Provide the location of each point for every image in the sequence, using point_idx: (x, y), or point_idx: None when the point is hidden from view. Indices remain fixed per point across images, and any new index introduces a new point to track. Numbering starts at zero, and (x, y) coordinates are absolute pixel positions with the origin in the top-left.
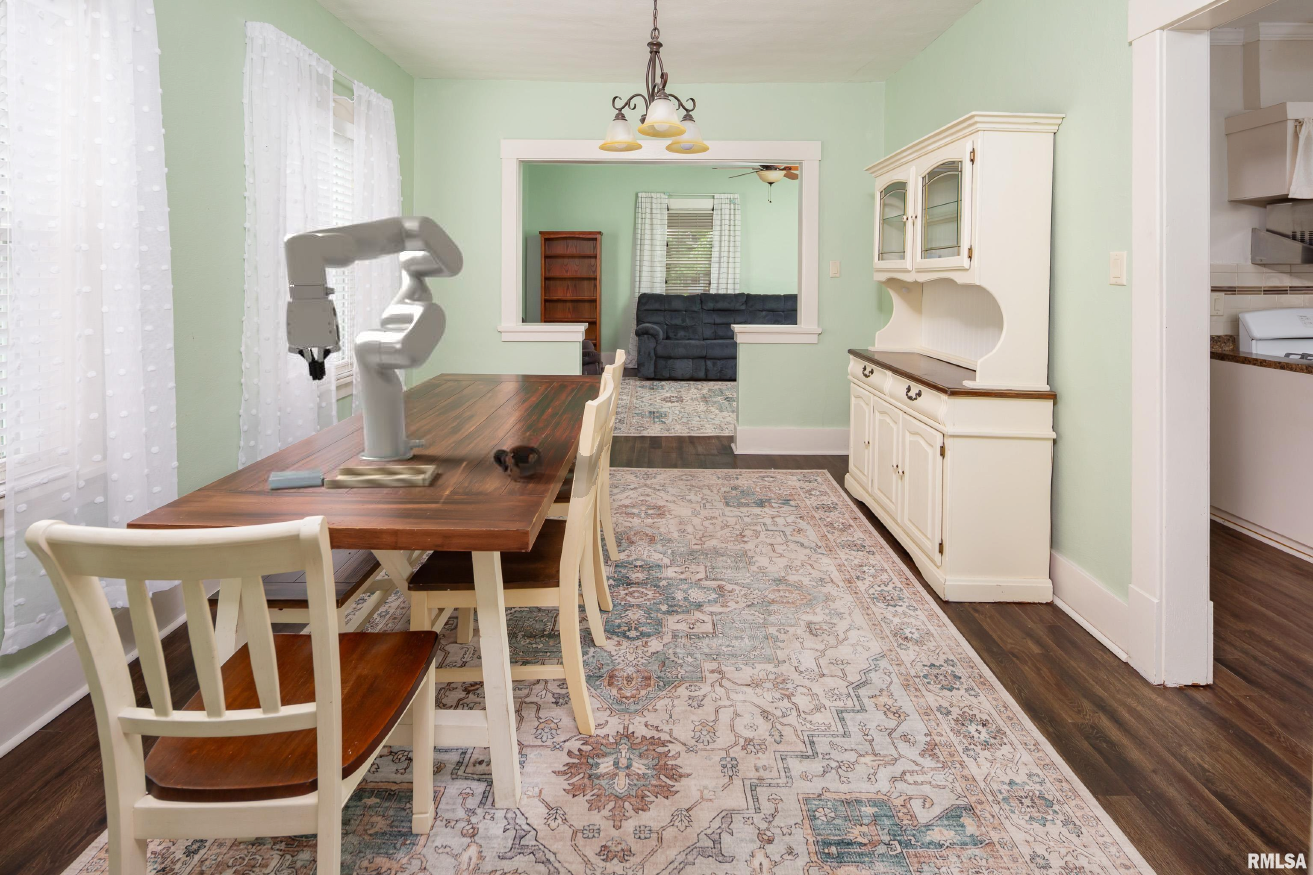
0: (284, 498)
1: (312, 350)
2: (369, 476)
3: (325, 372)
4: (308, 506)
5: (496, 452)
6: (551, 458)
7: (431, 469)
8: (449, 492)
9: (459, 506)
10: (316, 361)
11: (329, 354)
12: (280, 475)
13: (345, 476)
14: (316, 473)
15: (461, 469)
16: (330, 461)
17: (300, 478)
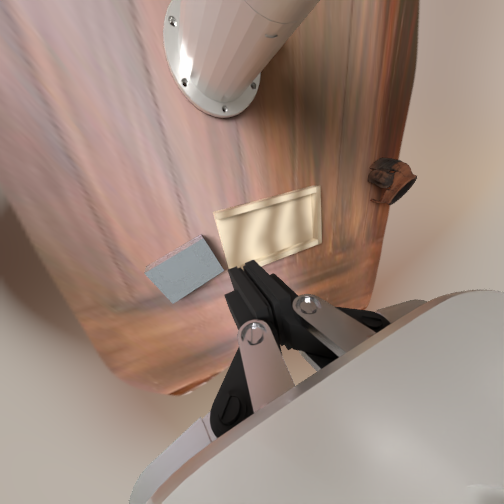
0: (207, 307)
1: (288, 374)
2: (253, 217)
3: (275, 275)
4: None
5: (384, 182)
6: (405, 81)
7: (319, 206)
8: (331, 247)
9: (341, 279)
10: (273, 321)
11: (353, 315)
12: (171, 283)
13: (226, 223)
14: (211, 261)
15: (330, 152)
16: (121, 93)
17: (204, 282)
